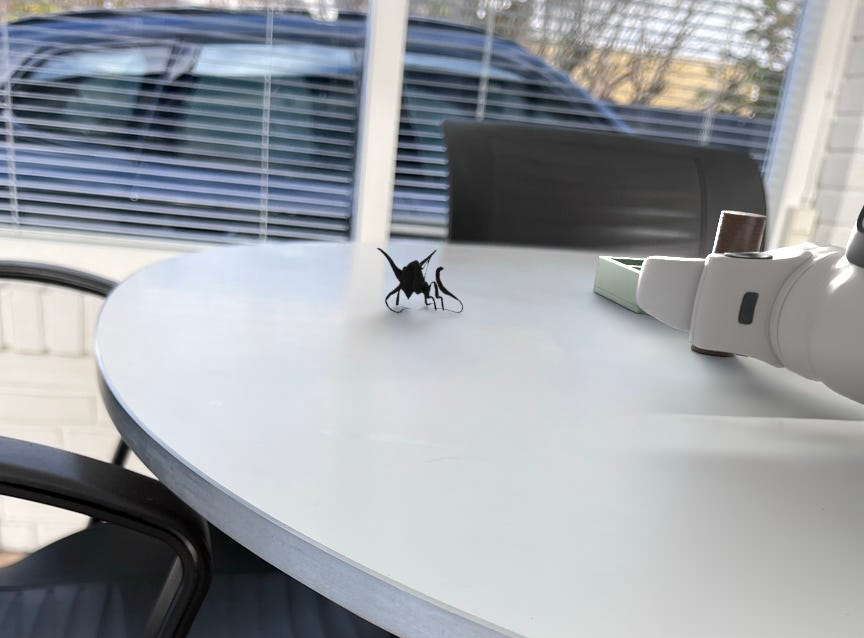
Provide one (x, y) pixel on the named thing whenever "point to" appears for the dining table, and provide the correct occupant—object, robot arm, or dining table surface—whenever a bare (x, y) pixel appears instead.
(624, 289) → the grid
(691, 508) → the dining table surface
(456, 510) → the dining table surface
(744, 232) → the brown cylinder
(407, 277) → the creature
